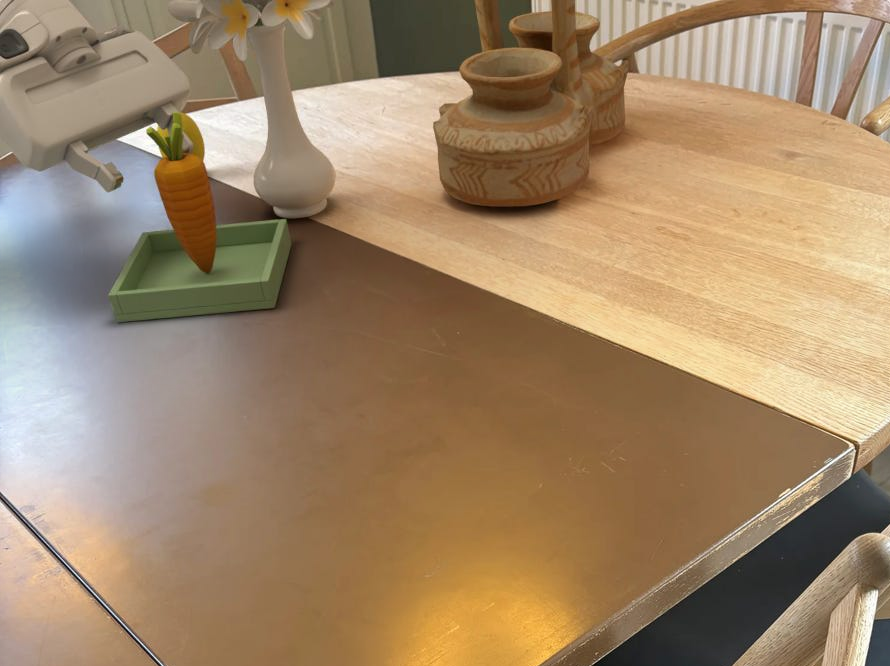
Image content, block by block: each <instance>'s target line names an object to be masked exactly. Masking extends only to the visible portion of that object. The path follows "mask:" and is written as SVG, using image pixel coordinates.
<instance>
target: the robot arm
mask: <svg viewBox="0 0 890 666" xmlns="http://www.w3.org/2000/svg"><path fill="white" fill-rule="evenodd" d="M191 92H192V87H191V82H190V79H189V77H188V76H187V75H186V74H185V72H184V71H183V70H182V69H181V68H180V67H179V66H178V65H177V64H176V63H175V62H174V61H173V60H172V59H171V58H170V57H169V56H168V55H167V54H166V53H165V52H164V50H162V49H161V48H160V47H159V46H158V45H157V44H156V43H154V42H153V41H152V40H151V39H149V38H148V37H147V36H145V35H144V33H142V32H141V31H140V30H134V29H131V28H126V27H125V26H123V25H117V26H114V27H112V28H111V29H109V30H106V31H98V32H97V31H96V30H95V28H93V26H92V25H91V24H90V23H89V22H88V20H87V19H86V18H85V17H84V15H82V13H81V12H80V11H79V9H78V8H77V7H76V6H75V4H73V2H72V0H0V139H1V140H2V142H3V143H4V145H5V146H6V147H7V148H8V149H9V150H10V152H11V154H13V155H14V156H15V158H16V159H17V160H18V161H19V162H20V163H21V164H22V165H23V166H25V167H26V168H29V169H32V170H34V171H36V172H43V171H46V170H48V169H50V168H53V167H55V166H58V165H60V164H62V163H65V162H66V163H67V164H68V165H69V166H70V168H71V170H73V171H75V172H78V173H80V174H82V175H83V176H86V177H88V178H89V179H92V180H95V181H96V182H97V183H98V184H99V185H100V186H101V188H102V189H103V190H104V191H105V192H106V193H111V192H113V191H116V190H117V189H119V188H121V187H122V183H123V182H124V175H123V174H122V173H121V172H120V170H118V169H117V166H116V165H115V164H114V163H113V162H112V161H111V162H108V163H106V164H105V163H103V162H102V161H100V160H99V159H97V158H95V157H93V156H92V155H90V154H88V152H90V151H93V150H95V149H97V148H99V147H102V146H104V145H107V144H109V143H112V142H114V141H116V140H118V139H121V138H123V137H126V136H128V135H130V134H132V133H135V132H137V131H139V130H142V129H144V128H148V127H150V126H151V125H154V124H157V126H158V125H159V127H160V128H161V129H162V130H165V129H166V128H167V129H168V133H169V136H170V135H171V128H172V124H173V112H178V113H180V112H183V111H184V109H185V107H186V105H187V102H188V101H189V98H190V95H191ZM182 133H183V134H184V137H183V143H182V153H188V154H191V153H192V150H193V148H194V145H193V143H192V141H191V140H190V139H189V138H188V137H187V135H186V134H185V133H184V132H183V127H182ZM168 148H169V147H168ZM169 150H170V149H169Z"/></svg>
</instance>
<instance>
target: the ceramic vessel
mask: <svg viewBox="0 0 890 666" xmlns="http://www.w3.org/2000/svg"><path fill="white" fill-rule="evenodd" d="M550 2H551V10H549V11H548V10H547V11H546V10H545V11H534V12H530V13H529V12H528V13H525V14H521V15H518V16H516V17H514V18H512V19H511V20H509V24H508V30H509V31H510V32H511V33H512V35H513V36H514V37H515V39H516V41H517V43H518V47H505V44H504V43H505V42H504V37H503V31H502V23H501V18H500V17H501V16H500V9H499V1H498V0H474V4H475V10H476V11H475V12H476V17H477V24H478V30H479V38H480V43H481V44H480V45H481V52H478V53H475V54H473V55H471V56H470V57H467V58H466V59H465V60H463V62H462V63H461V65H460V66H459V69H458V70H459V74H460V76H461V79H462V80H463V81H464V82H465V83H467V85H468V86H469V87H470V89H471V90H472V94H471V95H468V96H467V97H465V98H463V99H461V100H459V101H457V102H456V103H453V102H449V103H443V104H442V105H441V106H439V108H438V112H439V116H440V118H439V119H437V120H435V121H433V123H432V129H433V133H434V138H435V143H436V146H437V165H438V174H439V181H440V183H441V186H442V188H443V189H444V191H445V192H446V193H447V194H449V195H450V196H451V197H452V198H454V199H455V200H458V201H461V202H464V203H467V204H470V205H476V206H485V207H528V206H536V205H541V204H546V203H549V202H553V201H557V200H560V199H563V198H565V197H567V196H568V195H570V194H572V193H574V192H576V191H577V190H578V189H580V188H581V187H582V186H583V185H585V183H586V182H587V179H588V177H589V174H590V148H591V147H594V146H597V145H600V144H603V143H605V142H608V141H609V140H611V139H613V138H615V137H617V136H618V135H619V134H620V133H621V132H622V131H623V129H624V127H625V125H626V124H625V123H626V105H625V86H626V81H627V77H628V74H629V70H630V62H629V60H623V61H622V62H621V63H620V64H619V65H617V64H616V63H615V62H614V61H611V60H610V59H607V58H605V57H603V56H601V55H600V54H599V55H598V54H596V53H595V52H592V50H591V47H590V45H591V41H592V39H593V37H594V35H595V34H596V33H598V31H599V29H600V27H601V21H600V18H597V17H595V16H593V15H591V14H587V13H585V12H579V11H576V0H550Z"/></svg>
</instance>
